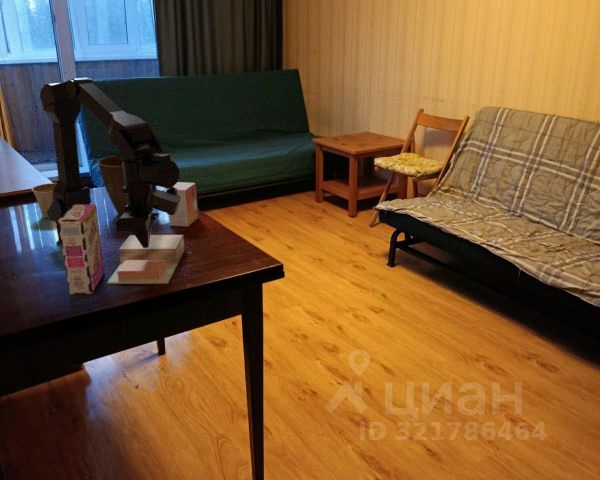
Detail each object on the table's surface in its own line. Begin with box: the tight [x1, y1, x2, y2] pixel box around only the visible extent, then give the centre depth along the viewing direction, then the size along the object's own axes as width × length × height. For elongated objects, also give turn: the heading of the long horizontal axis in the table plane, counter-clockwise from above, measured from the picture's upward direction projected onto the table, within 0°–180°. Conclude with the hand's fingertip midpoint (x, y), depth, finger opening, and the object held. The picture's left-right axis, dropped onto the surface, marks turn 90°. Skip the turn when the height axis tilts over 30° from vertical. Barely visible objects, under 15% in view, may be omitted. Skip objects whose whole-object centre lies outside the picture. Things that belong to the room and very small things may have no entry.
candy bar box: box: [58, 203, 105, 296], centre depth 118 cm, size 11×5×16 cm, turn 5°
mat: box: [106, 263, 178, 285], centre depth 125 cm, size 13×10×1 cm
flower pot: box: [31, 182, 57, 219], centre depth 162 cm, size 9×9×9 cm
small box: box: [165, 181, 199, 227], centre depth 156 cm, size 8×6×10 cm
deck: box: [118, 234, 185, 265], centre depth 134 cm, size 13×9×4 cm
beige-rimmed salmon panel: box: [117, 260, 166, 280], centre depth 124 cm, size 9×6×2 cm, turn 90°
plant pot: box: [97, 155, 132, 217], centre depth 163 cm, size 15×15×16 cm
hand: (146, 247), depth 127 cm, fingers closed
